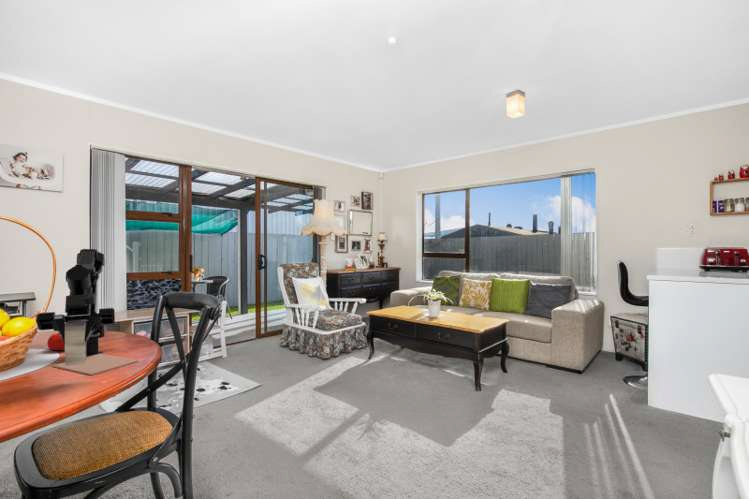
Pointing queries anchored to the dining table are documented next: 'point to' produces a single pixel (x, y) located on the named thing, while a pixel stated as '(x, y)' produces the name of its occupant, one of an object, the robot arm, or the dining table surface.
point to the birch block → (75, 342)
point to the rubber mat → (97, 364)
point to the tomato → (56, 342)
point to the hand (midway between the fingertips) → (75, 342)
